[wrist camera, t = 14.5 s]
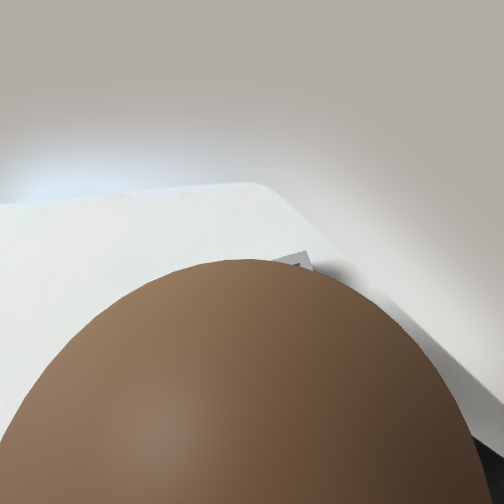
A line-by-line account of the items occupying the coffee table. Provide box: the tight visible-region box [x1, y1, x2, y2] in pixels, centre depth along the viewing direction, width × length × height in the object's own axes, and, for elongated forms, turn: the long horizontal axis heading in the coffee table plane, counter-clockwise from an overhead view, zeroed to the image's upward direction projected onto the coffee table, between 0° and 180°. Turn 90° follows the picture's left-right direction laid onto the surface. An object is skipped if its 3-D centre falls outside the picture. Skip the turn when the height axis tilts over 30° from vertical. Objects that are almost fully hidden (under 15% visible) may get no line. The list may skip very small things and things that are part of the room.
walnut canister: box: [0, 259, 492, 504], centre depth 8 cm, size 5×5×13 cm
